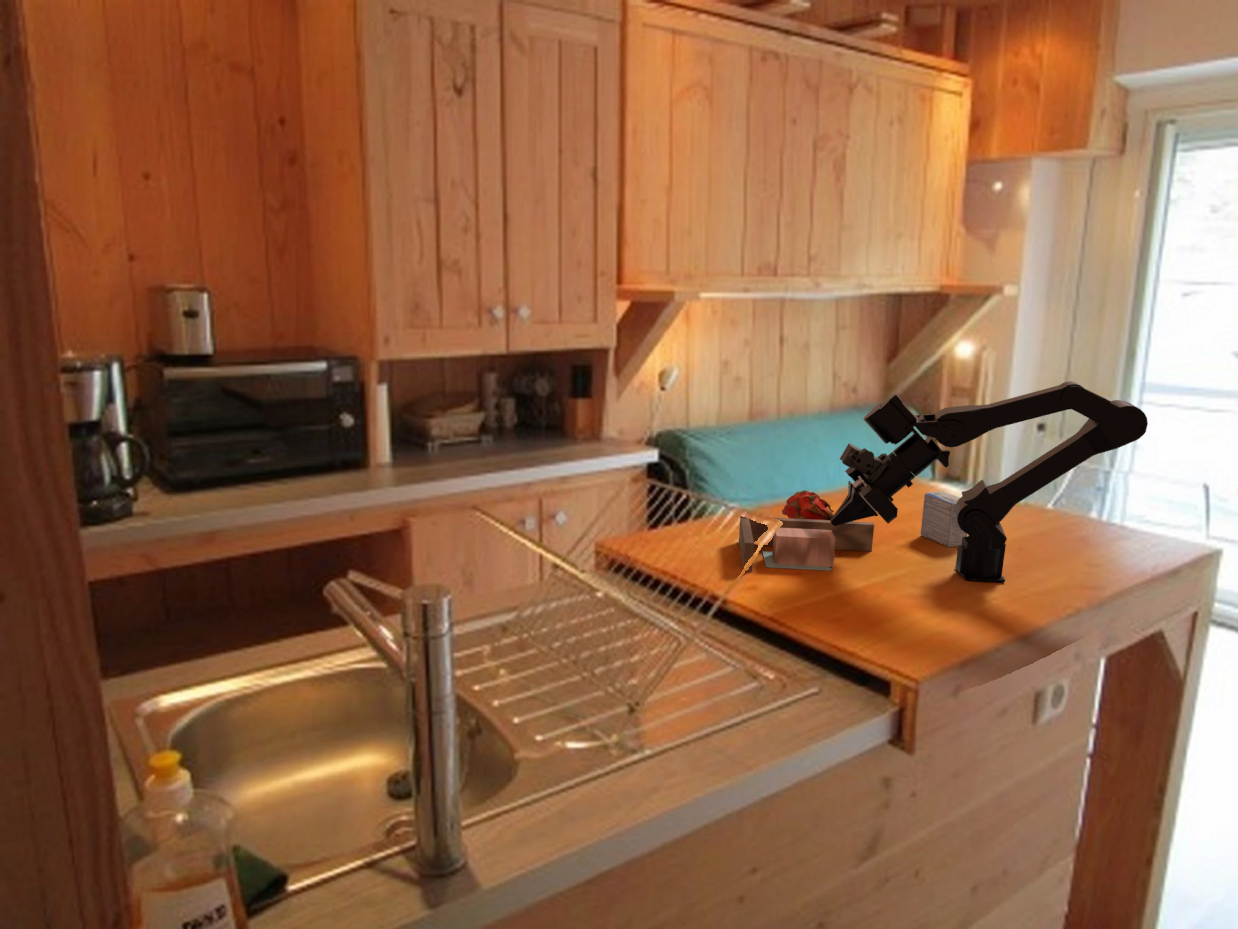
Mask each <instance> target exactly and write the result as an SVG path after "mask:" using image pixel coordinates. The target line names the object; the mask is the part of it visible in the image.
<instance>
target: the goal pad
mask: <svg viewBox="0 0 1238 929" xmlns="http://www.w3.org/2000/svg"><path fill="white" fill-rule="evenodd" d="M762 556H763V560H764V565H765V568H771V569H772V568H774V569H794V570H811V571H812V570H813V571H828V572H829V571H832V568H831V567H828V566H809V565H790V564H775V563H774V559H773V556H772V551H768V550H767V551H766V550H765V551H764V550H763V551H762Z"/></svg>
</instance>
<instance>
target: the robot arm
mask: <svg viewBox="0 0 1238 929" xmlns="http://www.w3.org/2000/svg"><path fill="white" fill-rule="evenodd" d="M1068 410H1073V411H1074V412H1076V413H1077V414H1080V415H1082V416H1083V417H1086V418H1087V420H1086V422H1084V424H1083V425H1082V426H1081V427H1080V429H1079V430H1078V431H1077V432H1076V433H1075V434H1073V435H1072V436H1070V437H1069V438H1067V439H1066V440H1063V441H1062V442H1060V443H1059V444H1057V445H1056V446H1055V447H1053V448H1051V449H1050V450H1048V451H1047V452H1045V453H1043V454H1042V455H1040V456H1039V457H1038V458H1035V459H1034V460H1032V461H1031V462H1029V463H1028V464H1027V465H1025V466H1023V467H1022V468H1020V469H1018V471H1015V472H1014V473H1013V474H1011V475H1009V476H1008V477H1006V478H1005V479H1003V480H1002V481H999V482H998V483H994V484H991V485H986V483H985V481H984V480H983V479H981V480H979V481H978V482H977V483H976V484H974V486H972V488H969V489H967V490H963V491H961V495H962V496H961V497H960V499H959V500H958V501H957V503H956V506H955V513H956V518H957V522H958V525H959V527H960V529H961V530H962V531H964V532H965V533H967V537H962V544H961V545H959V546H957V553H956V560H955V567H954V568H955V570H956V571H957V572H958V573H959V574H960V575H961V577H962V578H964V580H966V581H977V582H992V583H995V582H998V583H1005V582H1006V578H1005V577H1004V576H1003V570H1004V569H1003V568H1004V562H1005V553H1006V546H1007V543H1006V542H1007V541H1008V538H1007V535H1006V534H1005V530H1004V527H1003V525H1002V523H1001V522H1002V521H1003V520H1004V518H1006V517H1007V515H1008V514H1009V513H1010V511H1011V510H1012V509H1013V508H1014V507H1015V506H1016V505H1017V504H1019V503H1021V502H1022V501H1023V500H1024V499H1027V498H1028V497H1030V496H1031V495H1033V494H1035V493H1036V492H1038V491H1040V490H1042V488H1045V487H1046V486H1047V485H1049V484H1050V483H1053V482H1054V481H1055V480H1057V479H1059V478H1060V477H1061V476H1063V475H1065V474H1067V473H1068V472H1069V471H1071V470H1073V469H1075V468H1076V467H1077V466H1079V465H1081V464H1082V463H1084V462H1086V461H1087V460H1089V459H1091V458H1092V457H1093V456H1096V455H1099V454H1103V453H1107V452H1110V451H1114V450H1118V449H1119V448H1123V447H1124V446H1126V445H1128V444H1131V443H1133V442H1135V441H1137V440H1139V439H1141V438H1142V437H1143V436H1144V435H1145V434H1146V432H1147V428H1148V425H1149V424H1148V423H1149V422H1148V417H1147V415H1146V414H1145V412H1144V411H1143V410H1142V409H1141V408H1140V407H1137V406H1136V405H1134V404H1133V403H1131V402H1128V401H1126V400H1122V399H1121V400H1119V399H1114V400H1109V399H1107V398H1105V397H1103V396H1101V395H1099V394H1097V393H1095V392H1093V391H1091V390H1088V389H1086V388H1085V387H1083V386H1082V385H1081V384H1079V383H1077V382H1075V381H1065V382H1062V383H1060V384H1059V385H1054V386H1051V387H1047V388H1044V389H1041V390H1037V391H1032V392H1030V393H1025V394H1021V395H1018V396H1015V397H1011V398H1006V399H1002V400H999V401H995V402H991V403H988V404H979V405H978V404H976V405H975V404H973V405H960V406H949V407H948V406H947V407H944V408H942V409H939V411H937V412H936V413H929V414H917V415H915V414H914V413H913V412H912V411H911V410H910V409H909V408H908V407H907V405H906V404H905V403H904V402H903V400H902V398H901V397H900V396H899V394H897V393H894V394H893V395H892V396H890V397H888V398H887V399H886V400H884V401H882V403H878V404H877V405H876V406H874V408H872V409H871V410H870V411H869V412H868V413H867V414H866V415H865V416H864V417H863V421H864V422H865V423H866V424H867V425H868V427H869V428H871V430H873V432H874V433H875V434H876V436H878V438H880V440H881V441H883V443H884V444H889V443H891V445H897V444H899V443H900V442H902V441H903V440H904V439H905V440H904V441H903V442H902V443H901V444H900V445H899V446H897V447H896V448H894V450H893V451H891V452H890V453H889V454H887V453H885V452H884V453H881V454H880V455H879V456H875V453H873V451H870V450H868V449H867V448H860V447H858V446H856V445H855V444H852V443H848V444H847V446H846V447H845V449H844V451H843V452H842V454H841V455H840V457H839V460H840V461H842V462H841V463H842V464H843V465H844V466H845V467H848V468H847V469H846V470H845V473H846V475H848V477H850V478H851V480H853V482H852V481H850V480H848V481H847V482H848V483H847V484H848V489H847V490H848V491H847V495H846V497H845V498H844V500H843V501H842V503H841V505H840V506H839V508H837V510H836V511H835V512H834V514H833V515H834V516H833V517H832V518H831V520H830V522H831V523H832V524H833V525H834V526H837V525H841V524H844V523H848V522H852V521H853V522H857V521H859V520H863V519H868V518H871V517H878V516H880V517H881V518H882V520H883V521H885V522H886V524H890V523H891V522H892V521H894V520H895V519H896V518H897V517H898V511H899V508H897V506H896V505H895V503H893V501H894V500H895V499H894V498H893V496H894V495H896V494H897V493H898V492H900V491H901V490H902V489H903V488H904V487H905V486H906V487H907V488H908V489H909V488H910V487H911V486H912V485H914V483H913V482H912V481H913V480H914V479H915V478H916V477H918V476H919V475H920V474H921V473H922V472H924V471H925V470H926V469H927V468H928V467H930V466H931V465H932V464H933V463H935V462H936V461H938V462H939V463H940V465H941V466H943V467H945V468H948V467H949V465H950V461H949V460H950V454H951V451H950V450H949V449H942V448H941V447H940V446H939V445H938V444H937V443H939V444H941V445H942V446H944V447H946V448H955V447H960V446H962V445H965V444H967V443H969V442H971V441H973V440H976V439H978V438H979V437H981V436H983V435H985V434H987V433H988V432H991V431H993V430H995V429H999V428H1002V427H1006V426H1009V425H1014V424H1017V423H1022V422H1024V421H1025V422H1026V421H1029V420H1032V419H1033V420H1034V419H1037V418H1041V417H1045V416H1049V415H1052V414H1056V413H1060V412H1063V411H1068ZM915 428H916V429H917V430H918V431H919V432H918V431H917V430H916V429H915ZM911 433H912V435H910V434H911ZM920 434H921V435H923V436H927V437H928V438H926V439H925V438H923V436H921V435H920ZM909 435H910V436H909ZM908 436H909V437H908ZM907 437H908V438H907ZM906 438H907V439H906ZM933 439H935V440H936V441H937V443H936V441H934V440H933Z"/></svg>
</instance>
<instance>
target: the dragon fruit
mask: <svg viewBox="0 0 1238 929" xmlns="http://www.w3.org/2000/svg"><path fill="white" fill-rule="evenodd" d="M820 497H821V496H820V495H819V494H817V493H816V492H814V491H812V492H810V491H809V490H806V489H804V490H801V491H797V492H795V493H794V494H793V495H791V496H790V497H788V499H787V500H786V501H785V502H786V504H785V505H784V507H783V509H782V510H781V512H782V513H781V514H782V515H785V516H787V518H790V519H811V520H831V518H832V517H833V516H834V514H833V513H835V511H834V510H833V509H831V505H830V503H828V502H827V501H826V500H825V499H823V498H820Z"/></svg>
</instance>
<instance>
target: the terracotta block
mask: <svg viewBox="0 0 1238 929" xmlns="http://www.w3.org/2000/svg"><path fill="white" fill-rule="evenodd" d="M835 543H836V538H835V536H834V534H833V532H832V530H817V529H797V528H779V529H778V530H777V531H776V532H775V534H774V536H773V546H772V551H771V552H772V556H773V559H774V563H775V564H790V565H809V566H828V567H830V568H831V567H832V568H833V567H834V566H835V565H834V564H835V553H836V549H835Z"/></svg>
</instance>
